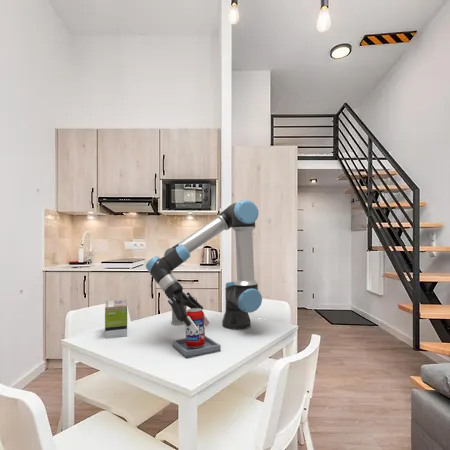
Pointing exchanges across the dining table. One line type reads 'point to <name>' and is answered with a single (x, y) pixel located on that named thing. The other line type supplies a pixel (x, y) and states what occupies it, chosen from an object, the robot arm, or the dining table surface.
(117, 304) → the tea box
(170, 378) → the dining table surface
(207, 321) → the robot arm
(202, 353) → the tray
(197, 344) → the soda can
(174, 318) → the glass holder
